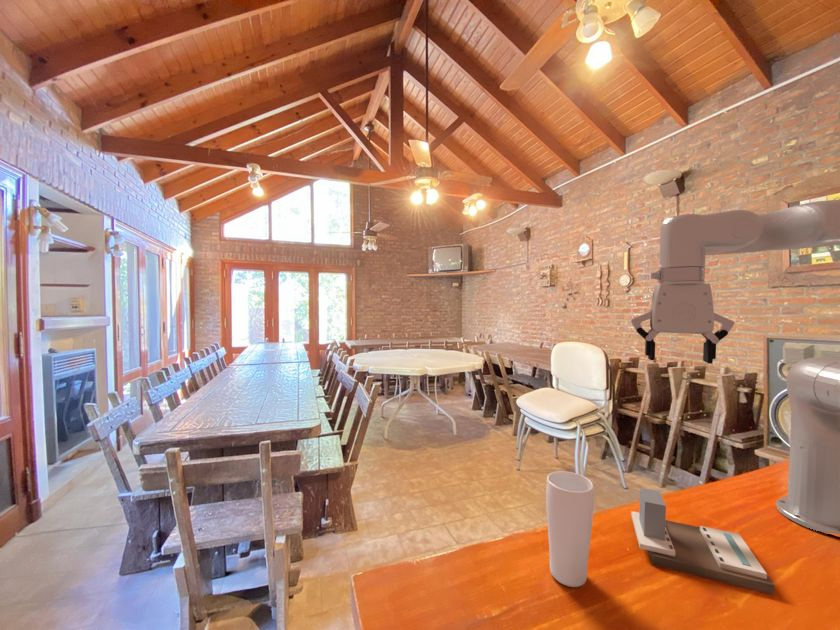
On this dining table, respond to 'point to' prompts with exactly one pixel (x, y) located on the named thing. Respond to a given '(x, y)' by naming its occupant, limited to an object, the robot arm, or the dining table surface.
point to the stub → (652, 523)
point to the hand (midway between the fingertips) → (678, 360)
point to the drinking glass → (569, 525)
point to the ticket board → (713, 557)
